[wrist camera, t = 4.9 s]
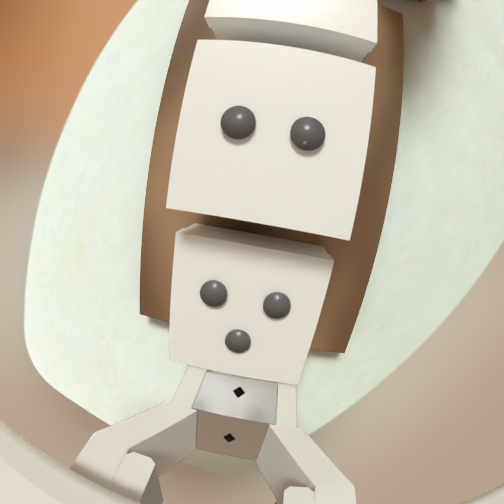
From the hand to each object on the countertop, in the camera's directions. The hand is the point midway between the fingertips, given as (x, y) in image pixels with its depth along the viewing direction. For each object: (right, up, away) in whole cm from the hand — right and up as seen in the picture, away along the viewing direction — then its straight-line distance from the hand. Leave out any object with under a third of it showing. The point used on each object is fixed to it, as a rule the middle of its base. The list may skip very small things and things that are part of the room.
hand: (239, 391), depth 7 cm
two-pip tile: (+1, +9, +4) cm, 10 cm away
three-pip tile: (0, +2, +8) cm, 8 cm away
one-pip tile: (+3, +17, +2) cm, 17 cm away
